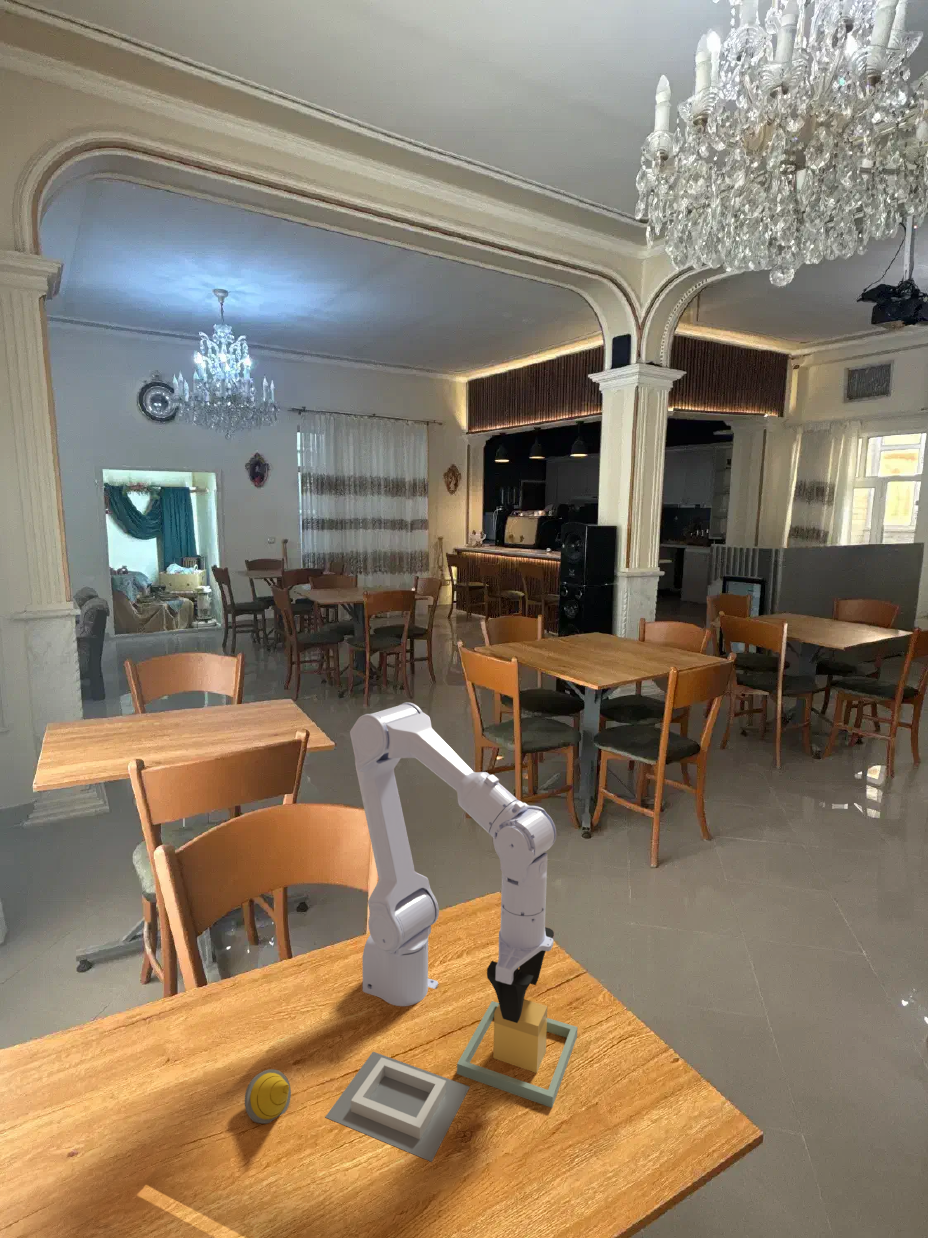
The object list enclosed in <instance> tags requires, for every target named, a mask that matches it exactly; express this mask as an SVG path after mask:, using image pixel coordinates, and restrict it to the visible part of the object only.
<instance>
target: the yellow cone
mask: <svg viewBox="0 0 928 1238" xmlns="http://www.w3.org/2000/svg"><path fill="white" fill-rule="evenodd" d="M291 1089H292V1088H291V1085H290V1081H289V1079H288V1078H287V1077H286V1075H285V1074H284V1073H283V1072H282V1071H280V1070H278V1069H273V1068H272V1069H270V1068H269V1069H266V1070H263V1071H261V1072H260V1073H258V1074H256V1075H254V1077H253V1078H252V1079H251V1080H250V1082H249V1083H248V1086H247V1088H246V1090H245V1094H244V1108H245V1112H246V1114H247V1116H248V1117H249V1118H250V1120H252V1121H253V1123H257V1124H264V1125H265V1124H271V1122H273V1121H274V1120H276V1119H277V1118H279V1117H281V1116H282V1115H283V1114H285V1113H286V1112H287V1110H288V1108H289V1105H290V1103H291V1098H292V1097H291V1096H292V1090H291Z"/></svg>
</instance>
